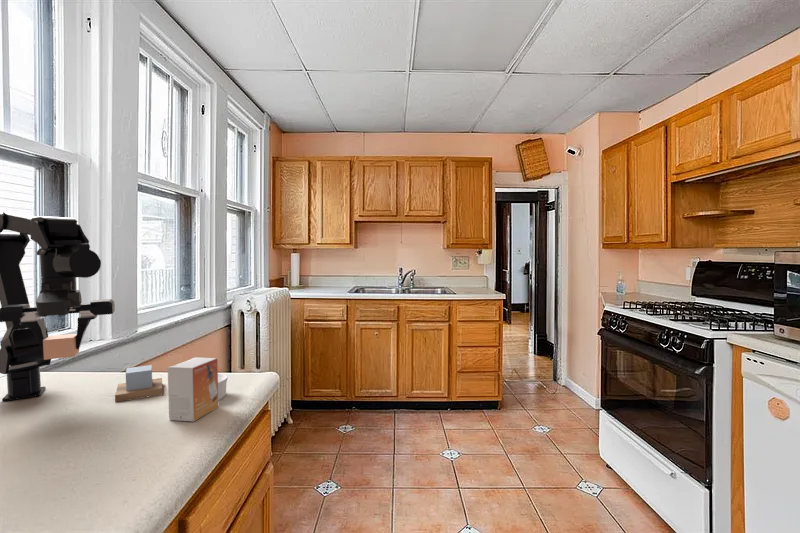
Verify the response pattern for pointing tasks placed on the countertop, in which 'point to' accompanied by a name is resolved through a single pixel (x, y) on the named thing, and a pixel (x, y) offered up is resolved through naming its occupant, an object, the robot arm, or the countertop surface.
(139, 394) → the base plate
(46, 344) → the terracotta brick
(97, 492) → the countertop surface
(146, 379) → the slate brick
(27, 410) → the countertop surface
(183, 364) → the small box
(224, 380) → the ramekin
